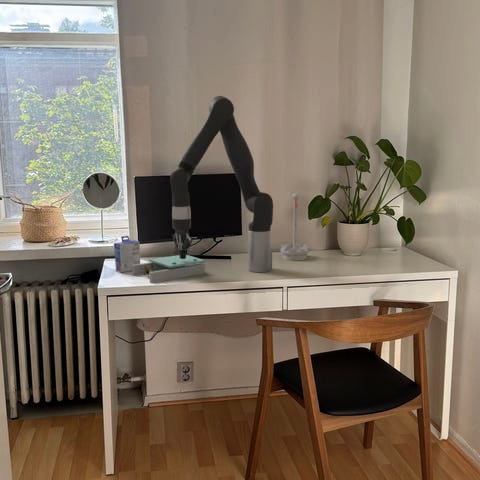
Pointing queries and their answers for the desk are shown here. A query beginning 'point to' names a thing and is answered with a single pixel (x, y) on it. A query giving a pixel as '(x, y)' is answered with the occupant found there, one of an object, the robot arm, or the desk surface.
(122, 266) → the ink cartridge box
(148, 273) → the eagle figurine
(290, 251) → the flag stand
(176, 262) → the cover
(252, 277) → the desk surface
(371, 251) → the desk surface
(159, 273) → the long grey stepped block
